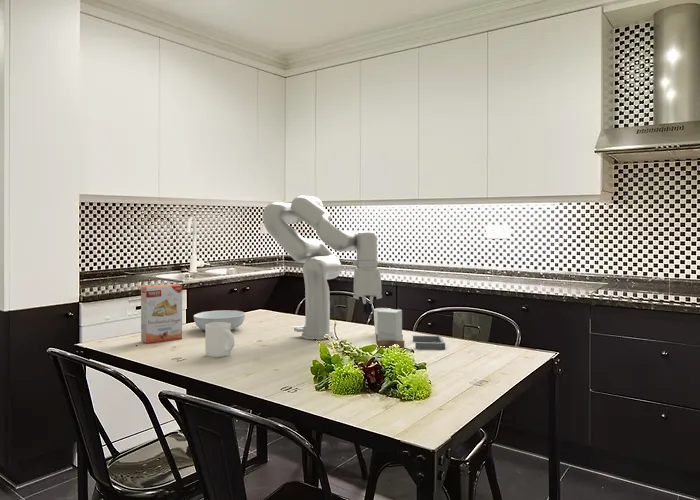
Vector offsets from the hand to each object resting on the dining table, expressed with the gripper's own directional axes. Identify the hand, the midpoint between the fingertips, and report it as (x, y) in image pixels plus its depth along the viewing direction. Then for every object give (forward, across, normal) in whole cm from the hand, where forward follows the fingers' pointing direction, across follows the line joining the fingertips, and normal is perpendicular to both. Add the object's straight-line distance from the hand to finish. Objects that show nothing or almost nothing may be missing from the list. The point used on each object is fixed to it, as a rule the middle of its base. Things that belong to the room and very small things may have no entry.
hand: (368, 314), depth 198 cm
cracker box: (+9, -78, +2) cm, 79 cm away
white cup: (+11, +6, +20) cm, 23 cm away
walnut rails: (+11, +8, 0) cm, 14 cm away
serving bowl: (+10, -62, +22) cm, 67 cm away
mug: (+10, -49, -20) cm, 54 cm away
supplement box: (+12, +8, 0) cm, 14 cm away
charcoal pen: (+12, +22, 0) cm, 25 cm away
